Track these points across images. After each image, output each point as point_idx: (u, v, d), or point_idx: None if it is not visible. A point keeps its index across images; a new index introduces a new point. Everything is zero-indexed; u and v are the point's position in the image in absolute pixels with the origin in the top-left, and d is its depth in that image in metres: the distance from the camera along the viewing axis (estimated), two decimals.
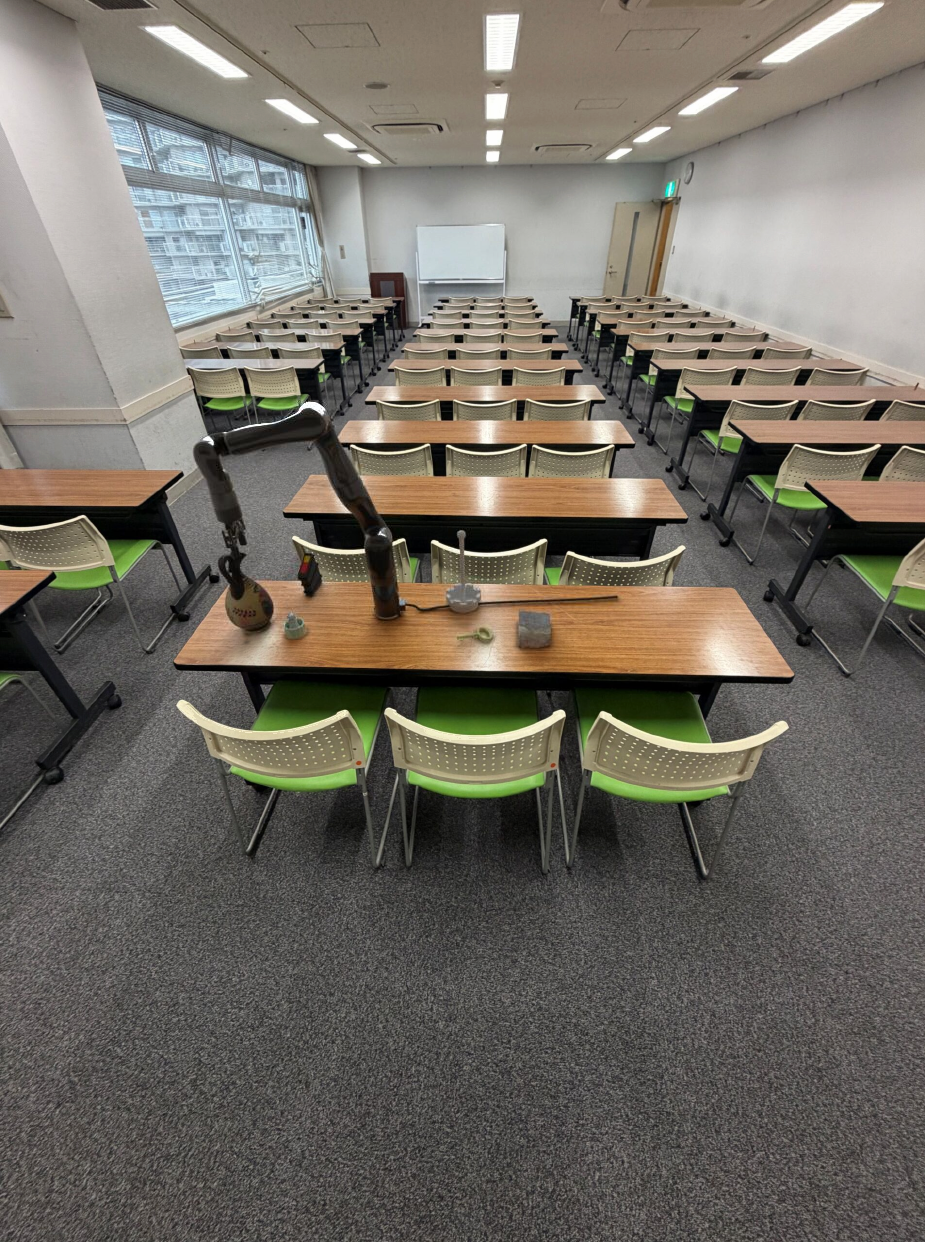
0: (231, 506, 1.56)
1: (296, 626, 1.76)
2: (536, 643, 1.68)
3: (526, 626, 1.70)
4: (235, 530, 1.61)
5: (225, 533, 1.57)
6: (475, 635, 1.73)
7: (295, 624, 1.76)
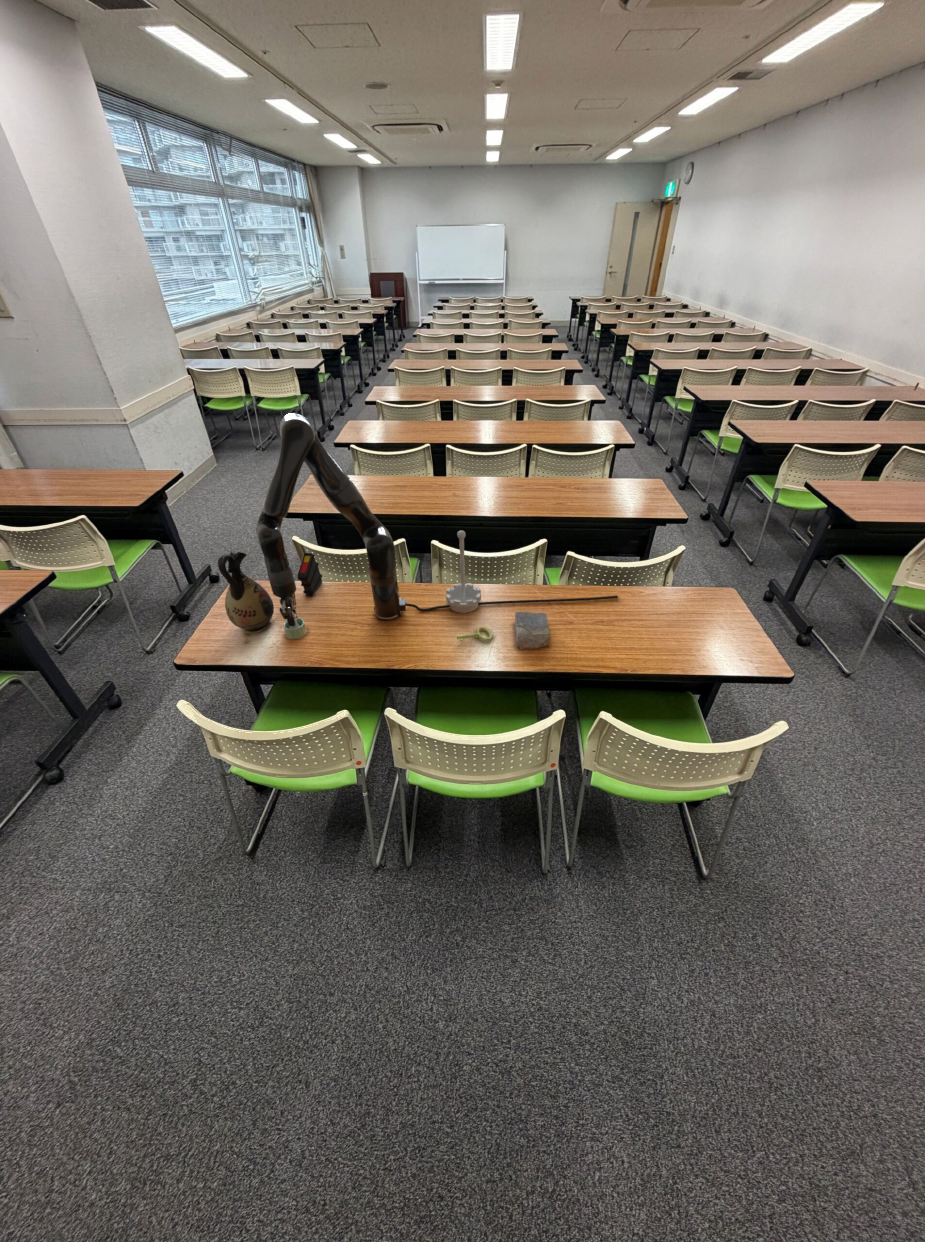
0: (287, 582, 1.64)
1: (296, 626, 1.76)
2: (535, 644, 1.68)
3: (524, 627, 1.70)
4: (290, 603, 1.70)
5: (283, 611, 1.66)
6: (475, 635, 1.73)
7: (295, 624, 1.76)
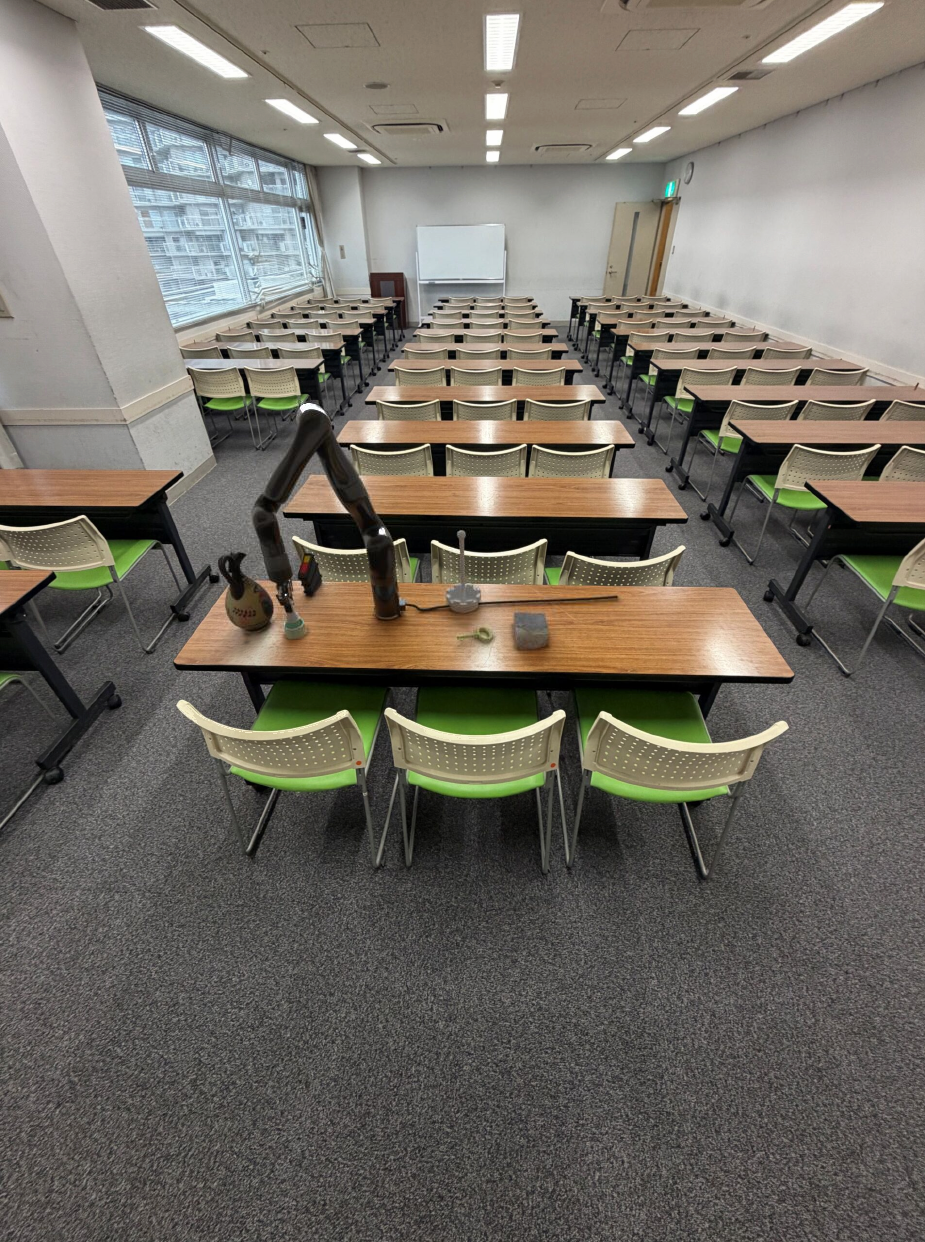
0: (283, 567, 1.61)
1: (293, 613, 1.73)
2: (535, 644, 1.68)
3: (523, 627, 1.69)
4: (287, 589, 1.66)
5: (279, 597, 1.63)
6: (475, 635, 1.73)
7: (292, 611, 1.73)
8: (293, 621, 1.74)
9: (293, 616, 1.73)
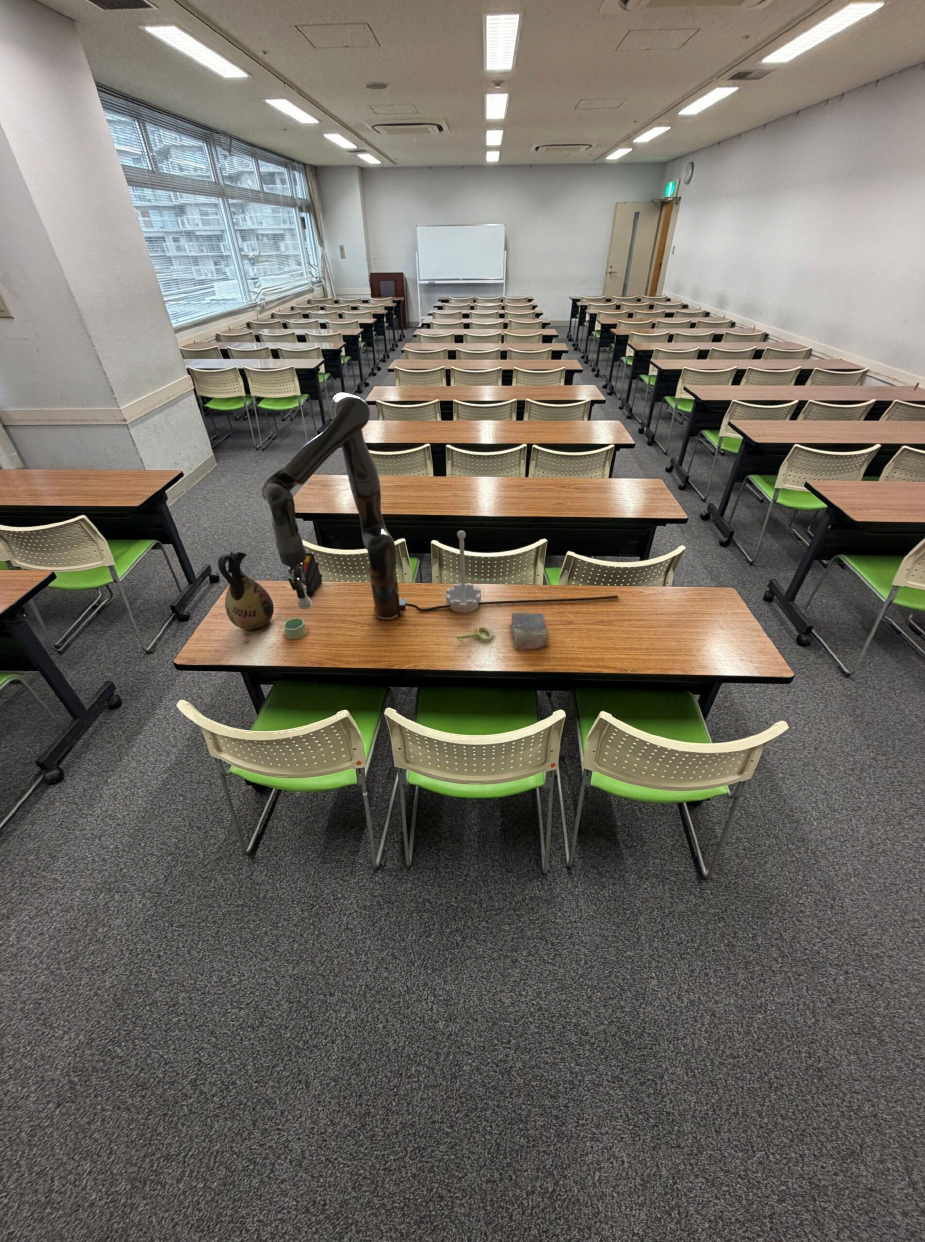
0: (296, 549, 1.52)
1: (306, 599, 1.65)
2: (534, 645, 1.67)
3: (522, 628, 1.69)
4: (299, 573, 1.58)
5: (292, 580, 1.54)
6: (475, 635, 1.73)
7: (305, 596, 1.64)
8: (305, 607, 1.66)
9: (306, 602, 1.65)
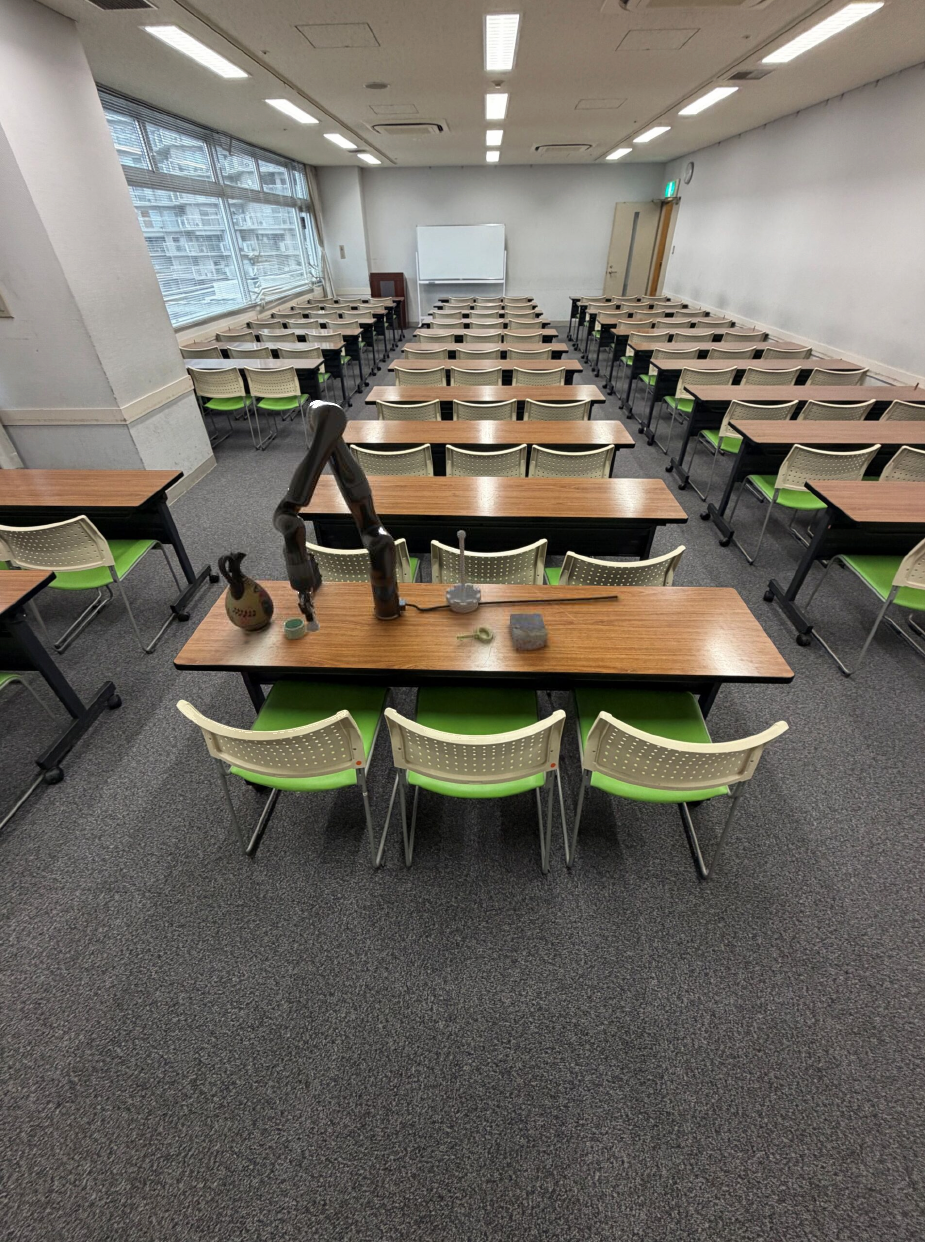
0: (306, 575, 1.57)
1: (314, 622, 1.69)
2: (533, 645, 1.67)
3: (521, 629, 1.69)
4: (308, 598, 1.62)
5: (301, 605, 1.59)
6: (475, 635, 1.73)
7: None
8: (314, 630, 1.70)
9: (314, 625, 1.69)
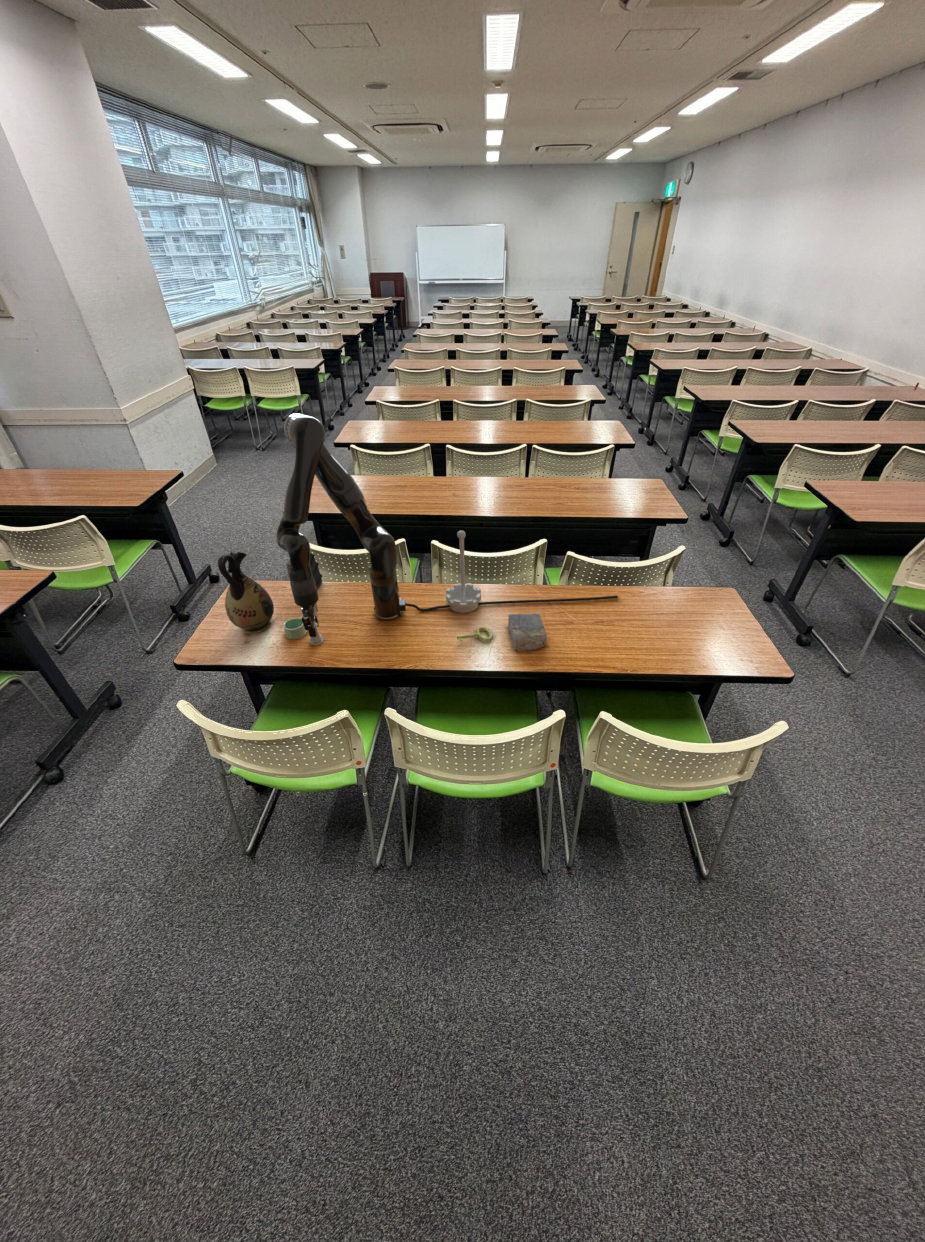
0: (310, 592, 1.60)
1: (317, 635, 1.72)
2: (533, 645, 1.67)
3: (520, 629, 1.69)
4: (312, 613, 1.65)
5: (305, 620, 1.61)
6: (475, 635, 1.73)
7: (316, 633, 1.72)
8: (317, 643, 1.73)
9: (317, 638, 1.72)
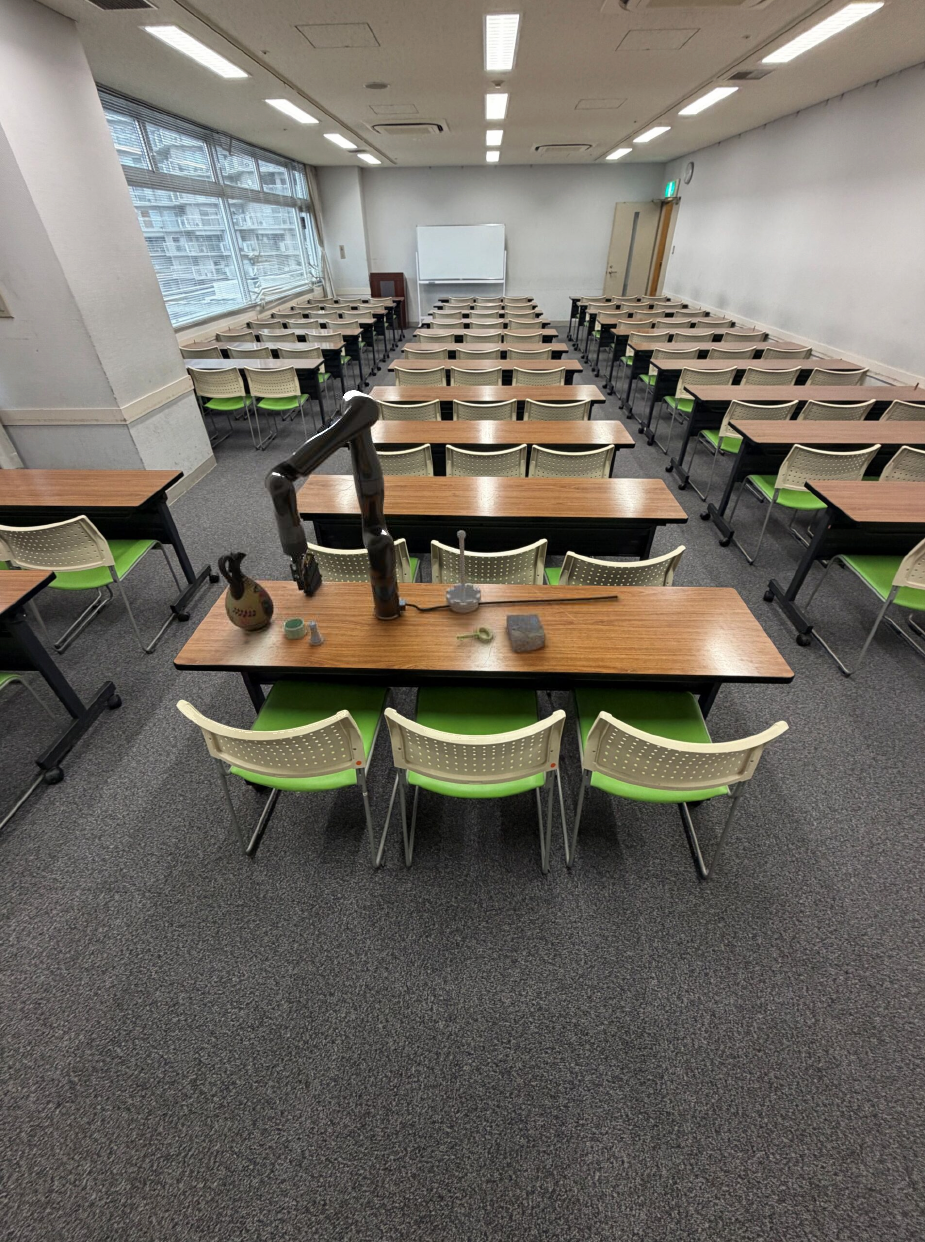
0: (299, 539, 1.53)
1: (317, 635, 1.72)
2: (532, 646, 1.67)
3: (519, 630, 1.68)
4: (301, 563, 1.58)
5: (293, 567, 1.53)
6: (475, 635, 1.73)
7: (316, 633, 1.72)
8: (317, 643, 1.73)
9: (317, 638, 1.72)
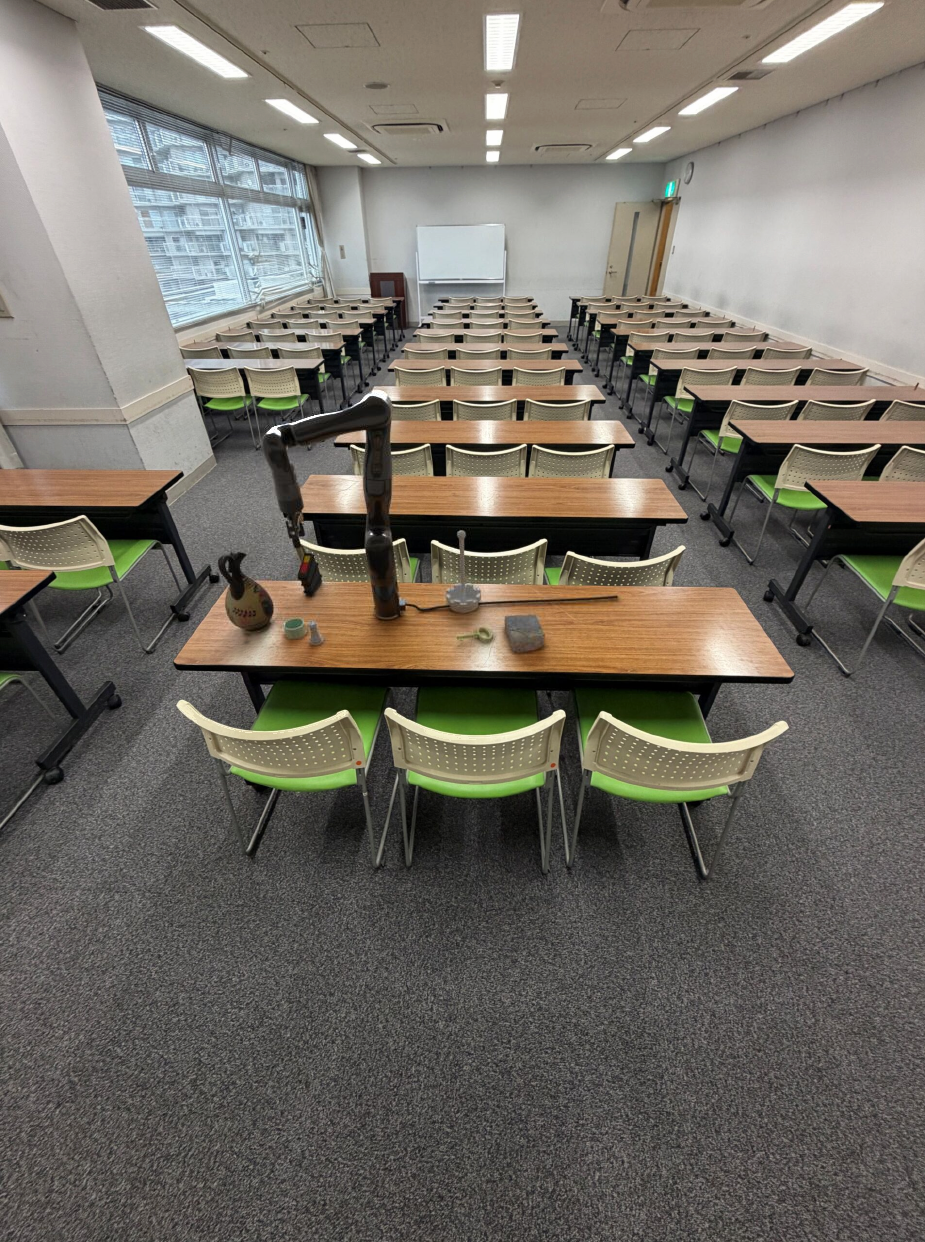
0: (295, 497, 1.58)
1: (317, 635, 1.72)
2: (532, 646, 1.67)
3: (518, 631, 1.68)
4: (297, 521, 1.63)
5: (289, 523, 1.59)
6: (475, 635, 1.73)
7: (316, 633, 1.72)
8: (317, 643, 1.73)
9: (317, 638, 1.72)
